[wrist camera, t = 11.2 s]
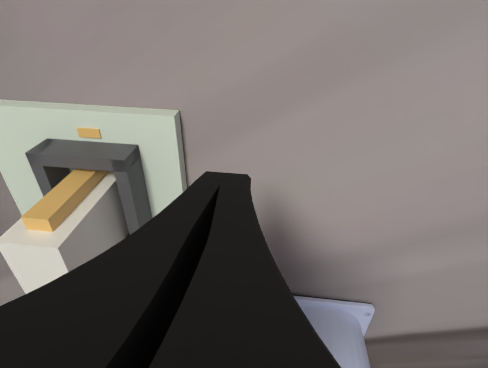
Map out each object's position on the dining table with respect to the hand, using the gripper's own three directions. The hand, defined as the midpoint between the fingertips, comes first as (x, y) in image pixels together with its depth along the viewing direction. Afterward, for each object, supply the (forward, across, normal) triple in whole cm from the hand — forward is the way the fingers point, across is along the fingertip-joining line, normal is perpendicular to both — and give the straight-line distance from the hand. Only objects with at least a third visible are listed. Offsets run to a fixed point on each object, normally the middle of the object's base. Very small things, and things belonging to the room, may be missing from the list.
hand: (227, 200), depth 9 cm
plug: (+9, +10, +7) cm, 15 cm away
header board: (+10, +11, +9) cm, 17 cm away
